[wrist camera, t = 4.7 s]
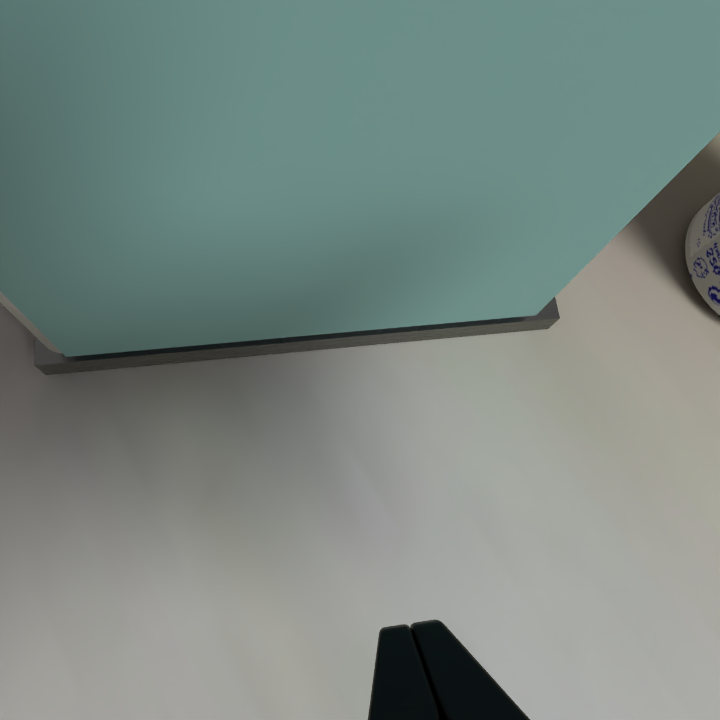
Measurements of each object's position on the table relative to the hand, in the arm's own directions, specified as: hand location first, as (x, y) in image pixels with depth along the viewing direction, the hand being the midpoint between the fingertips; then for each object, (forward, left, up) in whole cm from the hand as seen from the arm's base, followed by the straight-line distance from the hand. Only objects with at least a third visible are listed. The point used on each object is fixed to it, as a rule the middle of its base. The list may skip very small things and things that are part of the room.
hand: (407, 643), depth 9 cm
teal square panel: (+8, 0, -9) cm, 13 cm away
